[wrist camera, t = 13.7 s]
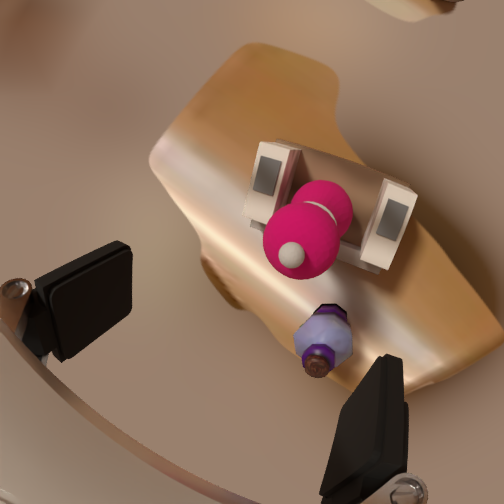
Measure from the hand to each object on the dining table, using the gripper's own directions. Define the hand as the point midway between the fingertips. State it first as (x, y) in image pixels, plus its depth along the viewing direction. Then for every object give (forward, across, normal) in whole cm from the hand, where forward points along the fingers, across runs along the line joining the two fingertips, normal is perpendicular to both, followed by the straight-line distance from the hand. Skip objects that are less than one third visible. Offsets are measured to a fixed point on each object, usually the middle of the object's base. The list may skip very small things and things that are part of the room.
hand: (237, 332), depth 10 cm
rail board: (+32, 0, +1) cm, 32 cm away
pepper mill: (+30, 0, +2) cm, 30 cm away
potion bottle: (+32, -6, +18) cm, 37 cm away
